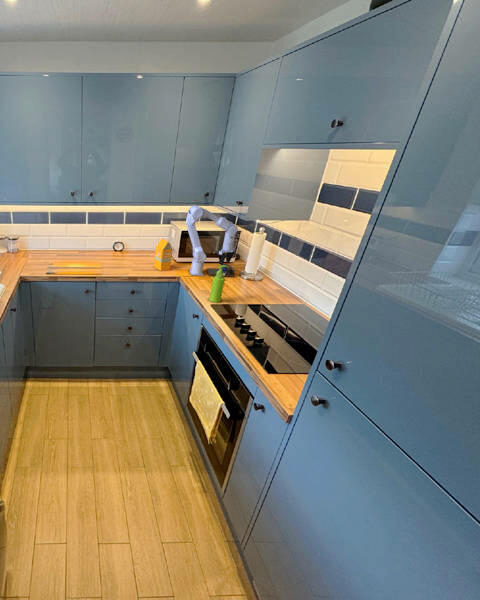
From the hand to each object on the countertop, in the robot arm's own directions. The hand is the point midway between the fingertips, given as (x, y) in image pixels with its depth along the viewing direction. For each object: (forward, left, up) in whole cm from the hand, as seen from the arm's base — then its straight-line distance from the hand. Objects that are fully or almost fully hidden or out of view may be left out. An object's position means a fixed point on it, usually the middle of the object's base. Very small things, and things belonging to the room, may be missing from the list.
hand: (224, 263), depth 212 cm
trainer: (+1, 0, -6) cm, 6 cm away
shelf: (0, -2, -7) cm, 8 cm away
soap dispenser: (+43, -13, -8) cm, 45 cm away
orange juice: (-5, -39, -8) cm, 40 cm away
